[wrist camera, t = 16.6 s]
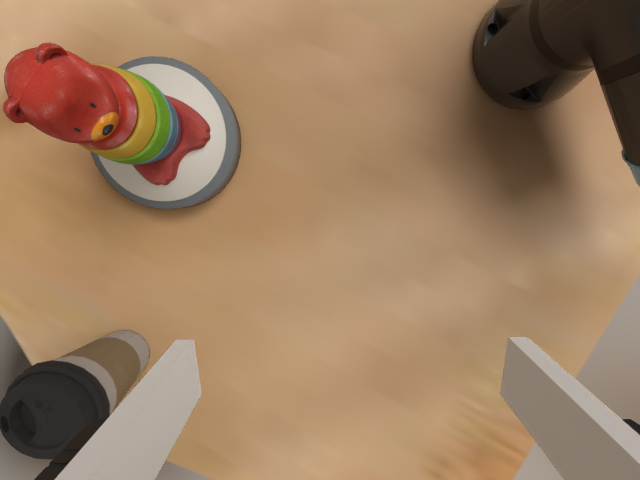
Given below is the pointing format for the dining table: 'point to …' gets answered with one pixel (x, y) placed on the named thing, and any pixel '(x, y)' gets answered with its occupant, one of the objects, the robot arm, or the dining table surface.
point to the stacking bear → (103, 110)
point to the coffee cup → (70, 393)
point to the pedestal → (198, 165)
